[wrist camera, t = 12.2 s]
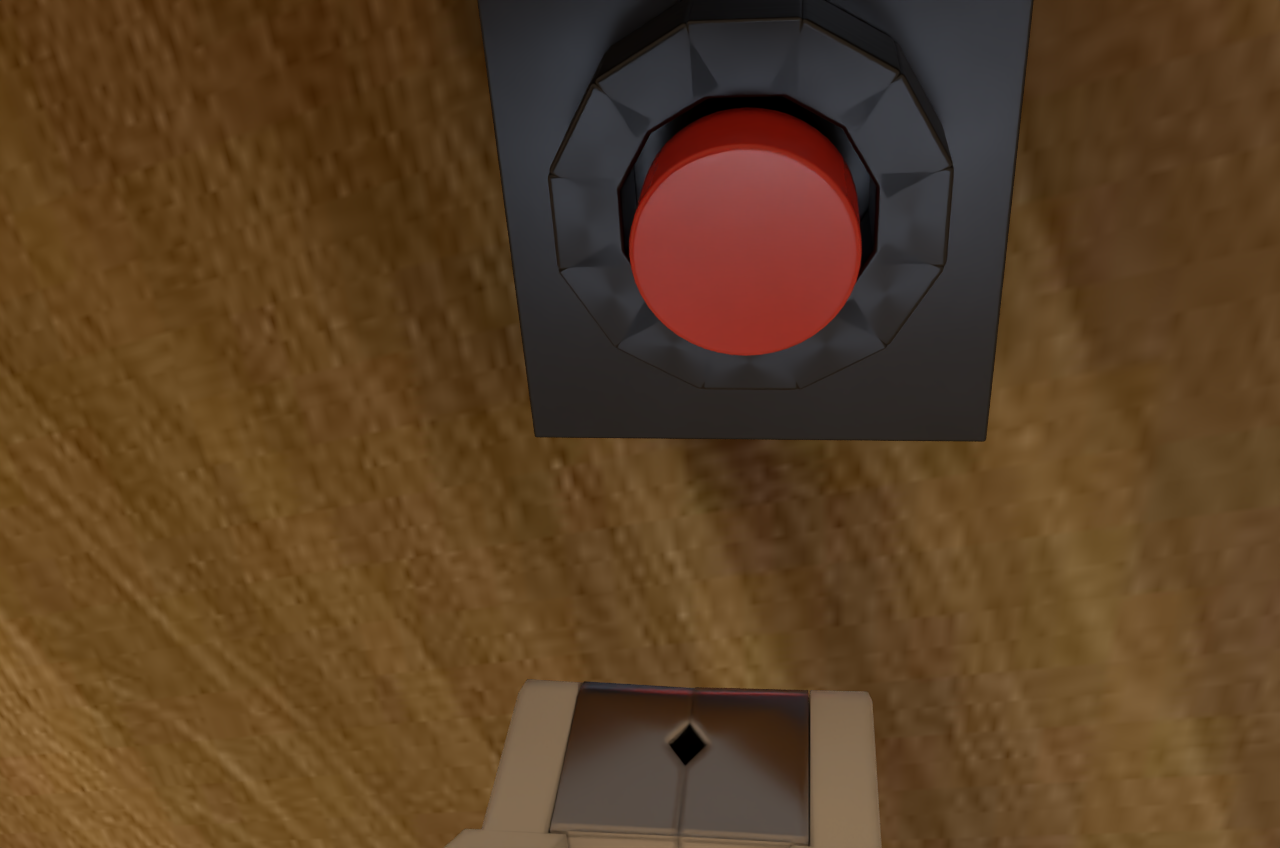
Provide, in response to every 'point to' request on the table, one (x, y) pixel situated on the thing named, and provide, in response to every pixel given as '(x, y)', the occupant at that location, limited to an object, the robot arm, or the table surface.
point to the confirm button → (746, 232)
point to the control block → (838, 108)
